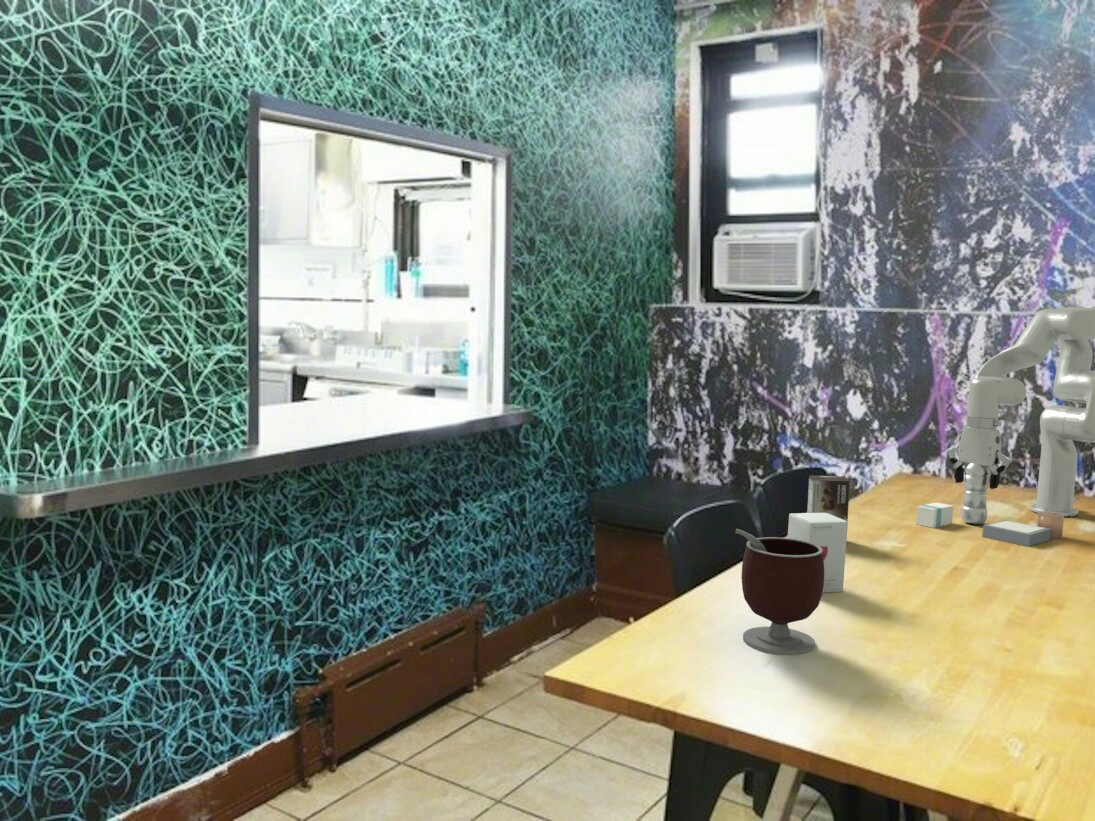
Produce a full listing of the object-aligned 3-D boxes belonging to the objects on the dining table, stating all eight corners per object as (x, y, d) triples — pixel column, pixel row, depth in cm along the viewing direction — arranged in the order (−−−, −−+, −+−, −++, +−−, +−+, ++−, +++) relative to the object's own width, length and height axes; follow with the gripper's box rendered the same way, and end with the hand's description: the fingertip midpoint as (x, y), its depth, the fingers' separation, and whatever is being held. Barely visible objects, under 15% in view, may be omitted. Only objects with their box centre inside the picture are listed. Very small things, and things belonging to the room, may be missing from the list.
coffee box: (841, 538, 246) (845, 476, 244) (846, 545, 240) (851, 480, 238) (804, 536, 247) (808, 474, 245) (809, 543, 240) (813, 479, 239)
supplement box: (805, 594, 198) (809, 522, 196) (783, 581, 206) (787, 512, 205) (844, 592, 200) (849, 521, 198) (821, 579, 209) (825, 511, 207)
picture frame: (1004, 530, 260) (1005, 519, 260) (1050, 540, 251) (1051, 528, 251) (982, 536, 253) (983, 524, 253) (1028, 546, 244) (1029, 534, 243)
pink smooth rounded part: (1042, 532, 260) (1044, 510, 259) (1065, 537, 255) (1068, 515, 254) (1032, 535, 256) (1034, 513, 255) (1055, 540, 251) (1058, 517, 250)
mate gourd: (806, 629, 177) (812, 521, 174) (830, 657, 163) (838, 540, 161) (721, 627, 176) (727, 519, 174) (738, 655, 162) (745, 538, 160)
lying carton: (934, 520, 271) (936, 502, 271) (952, 523, 268) (953, 505, 267) (915, 524, 265) (917, 506, 265) (933, 528, 261) (934, 509, 261)
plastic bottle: (990, 526, 265) (996, 454, 262) (965, 525, 265) (971, 453, 263) (980, 521, 271) (986, 450, 269) (956, 520, 271) (962, 449, 269)
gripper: (1019, 426, 261) (1014, 489, 262) (958, 419, 274) (952, 479, 276) (1006, 428, 256) (1000, 492, 258) (944, 420, 269) (939, 481, 271)
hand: (976, 485), depth 267 cm, fingers open, 9 cm apart
